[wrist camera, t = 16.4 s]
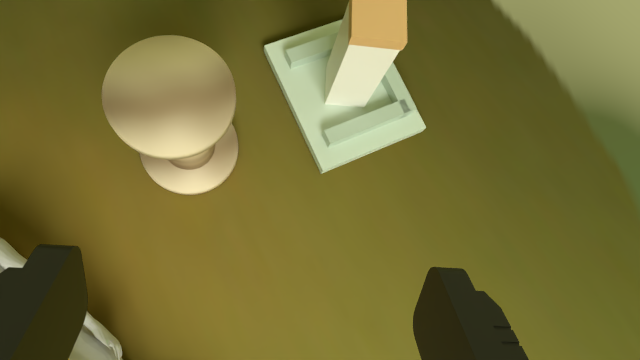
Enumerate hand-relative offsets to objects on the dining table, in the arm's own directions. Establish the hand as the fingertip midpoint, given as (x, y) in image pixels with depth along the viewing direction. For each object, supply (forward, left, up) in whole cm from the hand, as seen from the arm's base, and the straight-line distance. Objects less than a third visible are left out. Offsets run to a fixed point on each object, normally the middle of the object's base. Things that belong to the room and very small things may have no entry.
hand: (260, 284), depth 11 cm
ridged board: (-12, +14, -26) cm, 32 cm away
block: (-12, +14, -25) cm, 32 cm away
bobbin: (-12, 0, -26) cm, 29 cm away
